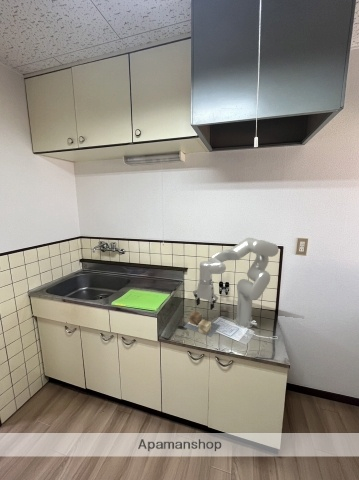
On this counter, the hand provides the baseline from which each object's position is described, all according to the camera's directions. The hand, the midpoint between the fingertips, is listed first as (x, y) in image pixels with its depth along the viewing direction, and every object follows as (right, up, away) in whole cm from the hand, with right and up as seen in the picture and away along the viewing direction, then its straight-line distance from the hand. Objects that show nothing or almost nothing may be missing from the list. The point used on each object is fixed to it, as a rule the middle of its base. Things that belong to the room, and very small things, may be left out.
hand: (204, 306), depth 140 cm
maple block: (0, -17, +4) cm, 17 cm away
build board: (-1, -16, +9) cm, 19 cm away
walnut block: (-5, -15, +13) cm, 21 cm away
